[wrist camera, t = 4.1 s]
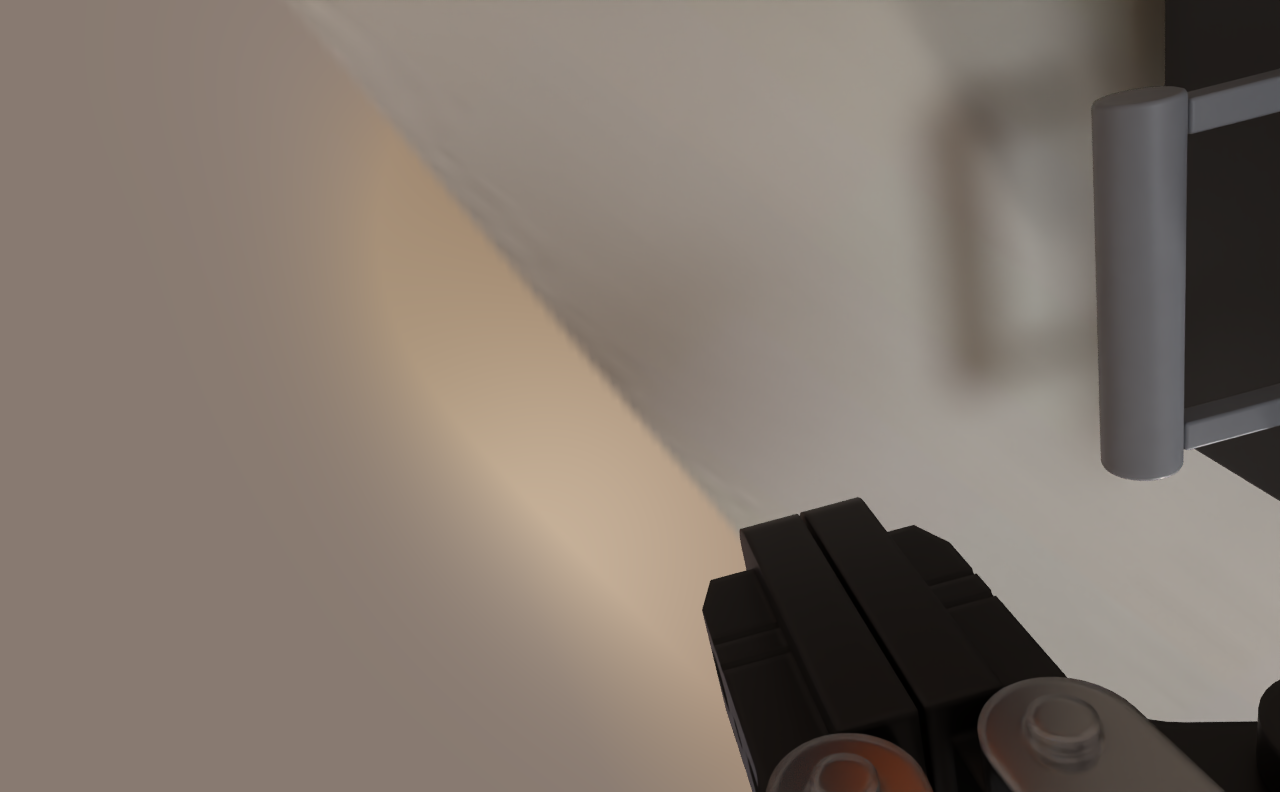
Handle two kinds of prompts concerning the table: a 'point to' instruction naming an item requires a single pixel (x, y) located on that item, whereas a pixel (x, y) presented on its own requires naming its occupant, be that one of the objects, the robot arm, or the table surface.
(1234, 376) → the pull-out drawer
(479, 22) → the table surface
